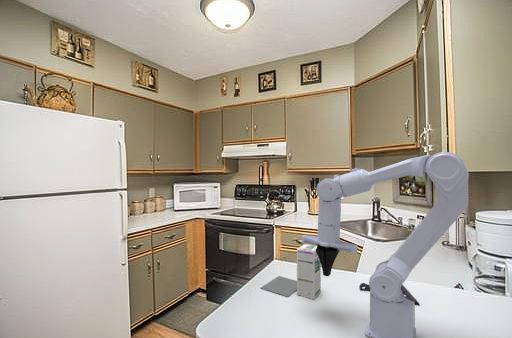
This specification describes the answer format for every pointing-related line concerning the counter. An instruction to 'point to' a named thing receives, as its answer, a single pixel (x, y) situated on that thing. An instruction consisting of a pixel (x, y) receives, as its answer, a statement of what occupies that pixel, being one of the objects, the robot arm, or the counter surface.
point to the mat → (281, 286)
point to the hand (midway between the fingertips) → (326, 274)
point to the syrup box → (308, 272)
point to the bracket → (403, 289)
